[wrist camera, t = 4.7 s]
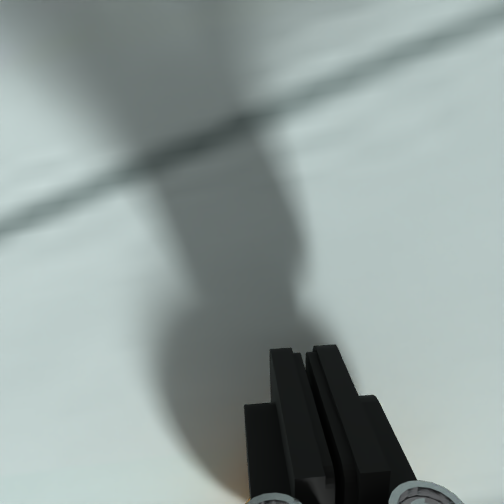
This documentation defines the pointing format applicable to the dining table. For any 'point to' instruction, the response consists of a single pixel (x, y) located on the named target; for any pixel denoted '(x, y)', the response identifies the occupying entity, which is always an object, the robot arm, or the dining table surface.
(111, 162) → the dining table surface
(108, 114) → the dining table surface
